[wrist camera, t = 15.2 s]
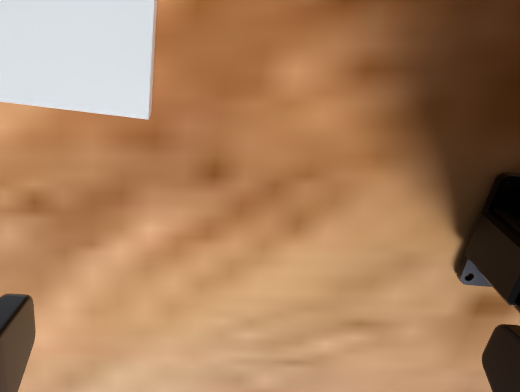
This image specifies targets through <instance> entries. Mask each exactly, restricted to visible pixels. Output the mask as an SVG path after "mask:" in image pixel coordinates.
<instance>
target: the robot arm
mask: <svg viewBox="0 0 520 392" xmlns="http://www.w3.org/2000/svg"><path fill="white" fill-rule="evenodd" d="M507 181H509V183H508V184H507V185H506V186H504V184H505V182H507ZM469 273H470V274H469ZM467 274H469V275H468V276H466V275H467ZM465 276H466V277H465ZM457 277H458V279H459V280H460V281H461V282H462V283H463V284H465V285H476V286H489V287H493V288H494V289H495V290H496V291H497V292H498V294H499V295H500V296H501V297H502V298H503V299H504V300H505V302H506V303H507V304H509V305H512V306H514V307H515V308H516V309H517V310H518V312H519V313H520V174H515V173H503V174H500V175H499V176H498V177H497V178H496V180H495V182H494V184H493V186H492V189H491V191H490V194H489V196H488V199H487V201H486V204H485V206H484V208H483V211H482V213H481V215H480V217H479V220H478V222H477V225H476V227H475V229H474V232H473V234H472V237H471V239H470V242H469V244H468V247H467V249H466V251H465V255H464V257H463V260H462V262H461V265H460V267H459V269H458V272H457ZM34 340H35V318H34V305H33V300H32V297H31V296H29V295H24V294H5V295H3V296H1V297H0V392H18V389H19V386H20V383H21V380H22V377H23V374H24V371H25V368H26V365H27V362H28V359H29V356H30V353H31V350H32V347H33V344H34ZM482 364H483V368H484V370H485V373H486V376H487V378H488V381H489V383H490V386H491V389H492V391H493V392H520V326H518V325H506V324H501V325H498V326H497V327H496V328H495V329H494V331H493V333H492V335H491V337H490V339H489V341H488V343H487V345H486V347H485V349H484V352H483V354H482Z"/></svg>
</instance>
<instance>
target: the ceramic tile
mask: <svg viewBox="0 0 520 392" xmlns="http://www.w3.org/2000/svg"><path fill="white" fill-rule="evenodd" d="M156 12H157V0H0V102H8V103H16V104H25V105H33V106H41V107H49V108H58V109H66V110H74V111H83V112H91V113H99V114H107V115H116V116H124V117H132V118H140V119H149V116H150V114H151V107H152V88H153V69H154V50H155V31H156Z"/></svg>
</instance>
